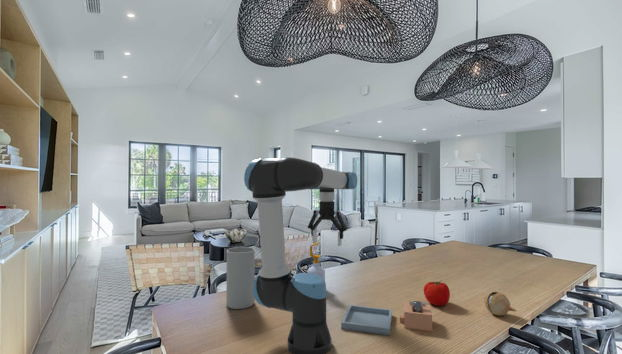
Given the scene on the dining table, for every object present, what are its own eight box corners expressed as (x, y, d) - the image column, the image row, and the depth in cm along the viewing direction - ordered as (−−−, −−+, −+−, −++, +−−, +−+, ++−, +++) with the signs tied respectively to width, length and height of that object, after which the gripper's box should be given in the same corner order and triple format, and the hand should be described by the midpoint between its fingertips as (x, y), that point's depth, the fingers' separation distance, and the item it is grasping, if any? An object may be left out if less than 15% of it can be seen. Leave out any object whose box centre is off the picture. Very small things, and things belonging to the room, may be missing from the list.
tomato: (451, 301, 146) (451, 279, 146) (448, 311, 135) (447, 287, 135) (426, 297, 152) (426, 275, 152) (421, 306, 141) (420, 283, 141)
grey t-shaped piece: (425, 326, 121) (425, 304, 121) (409, 324, 123) (409, 302, 123) (425, 323, 123) (425, 301, 124) (409, 321, 125) (409, 300, 125)
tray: (389, 335, 114) (389, 328, 114) (341, 328, 119) (341, 322, 119) (392, 315, 131) (392, 309, 131) (349, 310, 136) (349, 304, 136)
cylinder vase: (226, 311, 135) (226, 253, 136) (226, 300, 147) (226, 247, 148) (255, 308, 138) (255, 251, 139) (253, 298, 151) (253, 246, 151)
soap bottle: (323, 293, 156) (323, 244, 156) (305, 292, 158) (305, 244, 158) (326, 287, 165) (326, 241, 165) (309, 286, 167) (309, 240, 167)
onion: (489, 288, 140) (518, 290, 126) (496, 309, 138) (527, 314, 124) (473, 293, 137) (501, 297, 123) (480, 316, 135) (510, 321, 121)
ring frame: (432, 331, 117) (432, 315, 117) (399, 327, 120) (399, 311, 120) (430, 320, 126) (430, 305, 126) (400, 316, 130) (399, 301, 130)
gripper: (353, 201, 150) (353, 245, 150) (308, 199, 162) (308, 240, 162) (347, 201, 144) (347, 248, 143) (301, 200, 155) (301, 243, 155)
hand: (326, 244), depth 152 cm, fingers open, 13 cm apart
